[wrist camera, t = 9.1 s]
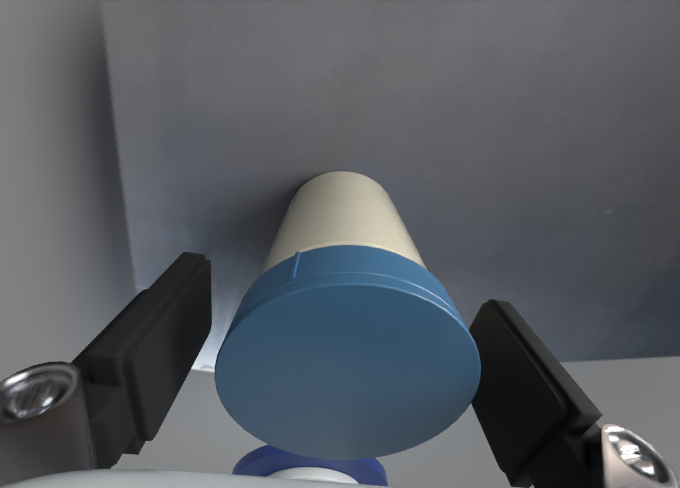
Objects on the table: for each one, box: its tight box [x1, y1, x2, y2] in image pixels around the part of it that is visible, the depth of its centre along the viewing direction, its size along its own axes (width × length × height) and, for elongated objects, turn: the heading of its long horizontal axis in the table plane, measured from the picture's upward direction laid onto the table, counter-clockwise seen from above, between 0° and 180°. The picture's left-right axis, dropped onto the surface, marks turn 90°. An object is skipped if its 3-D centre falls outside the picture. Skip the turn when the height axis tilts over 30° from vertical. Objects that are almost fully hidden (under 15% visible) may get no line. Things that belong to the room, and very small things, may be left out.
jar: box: [260, 171, 427, 276], centre depth 12 cm, size 6×6×9 cm
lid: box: [215, 245, 481, 460], centre depth 8 cm, size 7×7×2 cm
